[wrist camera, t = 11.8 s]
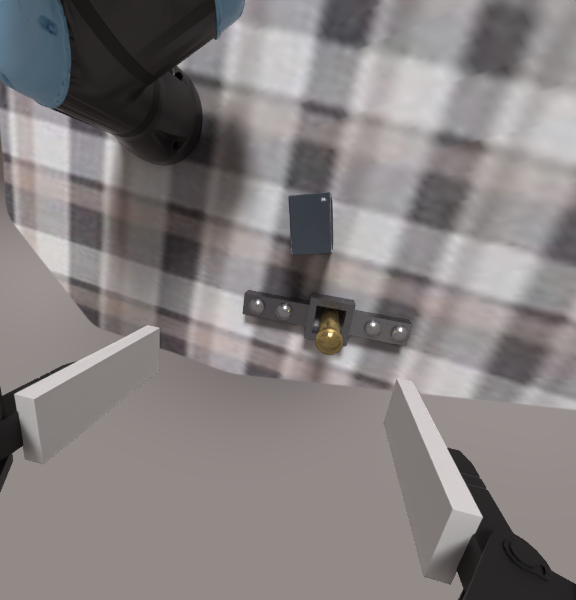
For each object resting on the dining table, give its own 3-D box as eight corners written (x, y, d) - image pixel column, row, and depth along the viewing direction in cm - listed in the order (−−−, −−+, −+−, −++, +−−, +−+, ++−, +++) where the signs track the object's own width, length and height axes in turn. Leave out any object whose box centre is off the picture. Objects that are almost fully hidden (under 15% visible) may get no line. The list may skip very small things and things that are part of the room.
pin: (317, 324, 49) (313, 351, 38) (321, 304, 48) (317, 326, 37) (338, 328, 49) (340, 357, 37) (342, 308, 48) (345, 332, 36)
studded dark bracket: (245, 318, 51) (239, 324, 48) (249, 281, 49) (243, 284, 46) (399, 349, 48) (404, 358, 44) (411, 310, 46) (417, 316, 42)
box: (298, 202, 45) (287, 194, 35) (332, 200, 44) (332, 190, 34) (300, 250, 46) (290, 255, 36) (333, 248, 46) (332, 253, 35)
